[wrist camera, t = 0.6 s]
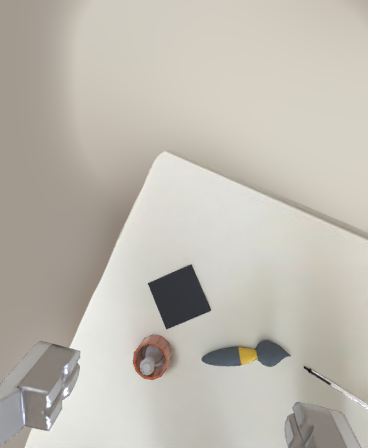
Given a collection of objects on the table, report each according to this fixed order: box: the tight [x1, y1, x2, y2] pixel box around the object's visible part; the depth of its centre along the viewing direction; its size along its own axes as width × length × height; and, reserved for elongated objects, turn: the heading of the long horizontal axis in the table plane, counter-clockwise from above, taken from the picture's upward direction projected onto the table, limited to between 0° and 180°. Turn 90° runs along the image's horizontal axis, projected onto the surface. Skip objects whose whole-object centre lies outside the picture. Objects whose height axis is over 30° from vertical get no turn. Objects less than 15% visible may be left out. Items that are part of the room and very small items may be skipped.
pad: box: [148, 265, 211, 329], centre depth 56 cm, size 12×12×1 cm
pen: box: [304, 366, 368, 409], centre depth 49 cm, size 1×19×1 cm, turn 60°
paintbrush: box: [202, 341, 291, 367], centre depth 51 cm, size 20×5×5 cm, turn 105°
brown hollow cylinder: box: [133, 335, 171, 380], centre depth 53 cm, size 8×8×4 cm
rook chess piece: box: [140, 345, 163, 375], centre depth 52 cm, size 4×4×8 cm
